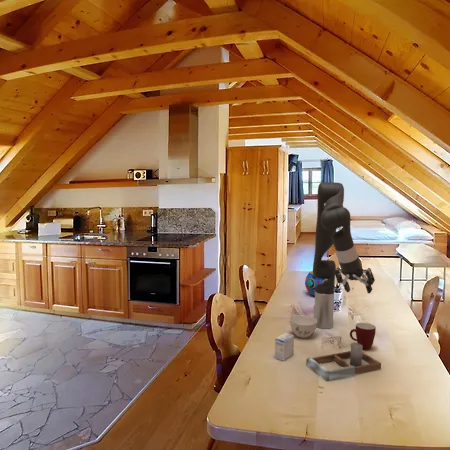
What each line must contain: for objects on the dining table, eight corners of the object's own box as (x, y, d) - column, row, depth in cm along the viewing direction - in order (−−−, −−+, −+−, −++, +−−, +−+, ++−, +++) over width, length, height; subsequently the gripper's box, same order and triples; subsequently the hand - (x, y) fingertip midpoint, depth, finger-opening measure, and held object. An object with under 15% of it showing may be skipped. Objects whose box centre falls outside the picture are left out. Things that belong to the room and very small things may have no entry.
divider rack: (305, 365, 151) (306, 356, 151) (358, 355, 160) (358, 347, 160) (326, 381, 138) (327, 372, 138) (382, 370, 147) (382, 361, 147)
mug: (347, 348, 166) (348, 326, 165) (350, 342, 173) (351, 320, 172) (373, 353, 161) (374, 330, 160) (375, 346, 169) (376, 324, 168)
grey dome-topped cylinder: (347, 363, 153) (348, 343, 152) (356, 361, 154) (357, 342, 154) (354, 368, 149) (355, 348, 148) (364, 366, 150) (365, 346, 149)
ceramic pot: (303, 298, 239) (304, 274, 238) (306, 290, 256) (306, 268, 254) (332, 300, 234) (333, 276, 232) (333, 292, 251) (334, 270, 249)
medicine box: (284, 352, 163) (284, 332, 162) (293, 355, 160) (294, 334, 159) (274, 358, 157) (274, 338, 156) (284, 361, 154) (284, 340, 153)
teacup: (312, 343, 172) (313, 326, 171) (285, 338, 177) (286, 321, 177) (320, 331, 185) (321, 315, 184) (295, 327, 191) (296, 311, 190)
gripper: (369, 251, 143) (380, 286, 148) (334, 251, 153) (345, 285, 158) (362, 262, 138) (374, 298, 144) (326, 262, 148) (338, 296, 153)
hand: (359, 291), depth 151 cm, fingers open, 8 cm apart
